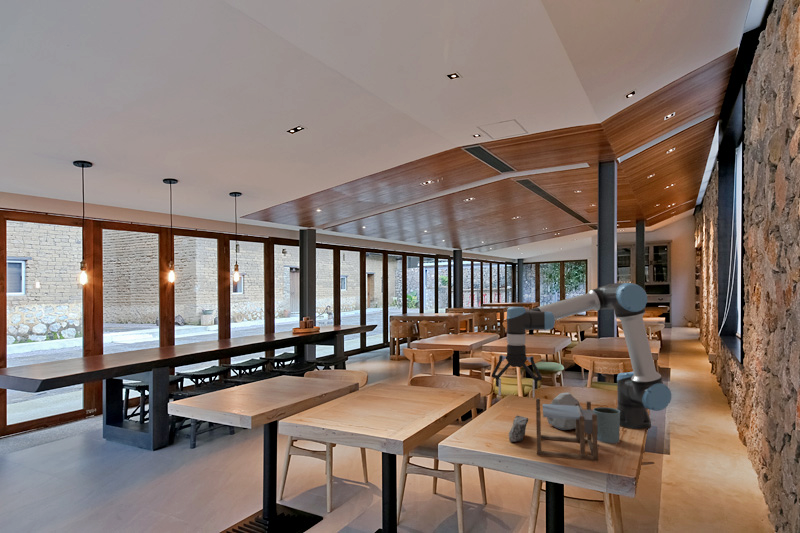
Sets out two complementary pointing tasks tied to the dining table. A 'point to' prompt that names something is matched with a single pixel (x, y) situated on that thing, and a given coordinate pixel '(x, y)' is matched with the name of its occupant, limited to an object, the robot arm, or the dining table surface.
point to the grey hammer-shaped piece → (570, 414)
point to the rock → (518, 429)
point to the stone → (562, 422)
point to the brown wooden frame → (579, 437)
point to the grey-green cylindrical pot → (608, 424)
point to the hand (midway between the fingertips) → (516, 395)
